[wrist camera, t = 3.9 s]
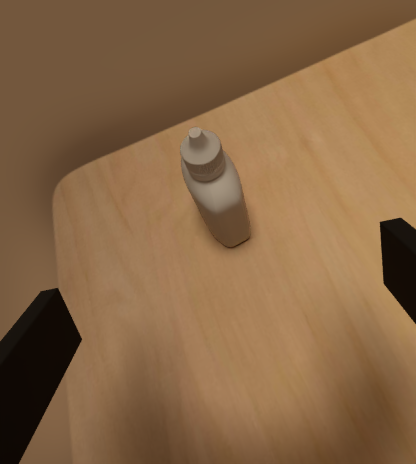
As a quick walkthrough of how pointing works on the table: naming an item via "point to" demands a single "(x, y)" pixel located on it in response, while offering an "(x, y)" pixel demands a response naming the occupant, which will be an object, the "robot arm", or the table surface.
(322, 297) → the table surface
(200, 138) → the eye dropper bottle
